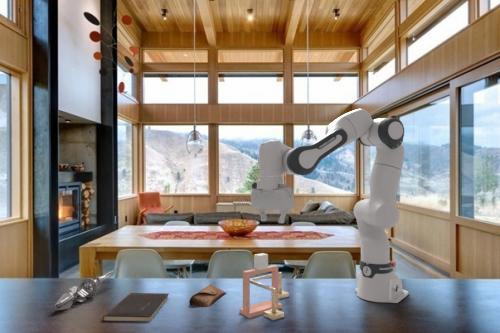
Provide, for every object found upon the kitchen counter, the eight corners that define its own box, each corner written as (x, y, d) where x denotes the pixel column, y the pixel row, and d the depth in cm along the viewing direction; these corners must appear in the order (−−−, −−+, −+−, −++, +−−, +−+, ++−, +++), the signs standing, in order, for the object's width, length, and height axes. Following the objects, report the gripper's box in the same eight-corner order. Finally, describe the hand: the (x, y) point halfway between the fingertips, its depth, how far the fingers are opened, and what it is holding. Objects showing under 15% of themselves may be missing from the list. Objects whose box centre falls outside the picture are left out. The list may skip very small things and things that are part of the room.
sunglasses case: (210, 307, 128) (201, 290, 130) (194, 315, 130) (186, 299, 131) (227, 292, 145) (220, 277, 147) (214, 299, 147) (206, 285, 148)
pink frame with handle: (239, 312, 124) (239, 255, 124) (271, 303, 133) (271, 250, 134) (249, 318, 119) (250, 258, 120) (281, 308, 128) (282, 253, 129)
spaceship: (124, 267, 155) (109, 259, 156) (67, 302, 121) (49, 292, 122) (119, 283, 156) (104, 275, 158) (61, 322, 122) (43, 312, 124)
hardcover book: (168, 299, 139) (168, 293, 139) (150, 323, 116) (150, 316, 116) (128, 298, 139) (128, 292, 139) (102, 322, 116) (102, 315, 116)
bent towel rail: (280, 293, 145) (280, 270, 145) (315, 306, 130) (315, 280, 130) (239, 304, 132) (239, 278, 132) (273, 320, 117) (273, 291, 117)
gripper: (297, 183, 123) (299, 223, 122) (260, 184, 139) (261, 219, 138) (284, 184, 119) (286, 225, 118) (247, 184, 135) (248, 220, 134)
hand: (272, 222), depth 129 cm, fingers open, 8 cm apart
